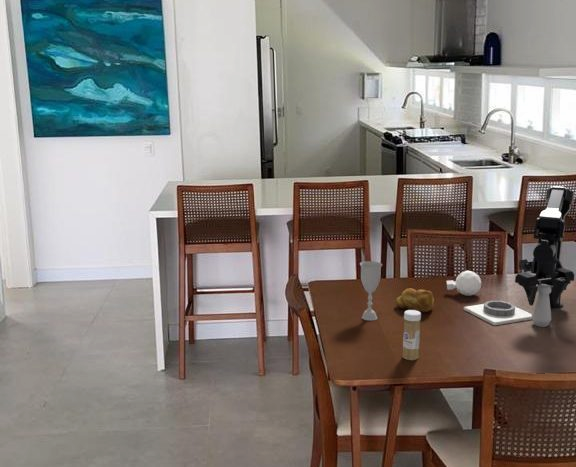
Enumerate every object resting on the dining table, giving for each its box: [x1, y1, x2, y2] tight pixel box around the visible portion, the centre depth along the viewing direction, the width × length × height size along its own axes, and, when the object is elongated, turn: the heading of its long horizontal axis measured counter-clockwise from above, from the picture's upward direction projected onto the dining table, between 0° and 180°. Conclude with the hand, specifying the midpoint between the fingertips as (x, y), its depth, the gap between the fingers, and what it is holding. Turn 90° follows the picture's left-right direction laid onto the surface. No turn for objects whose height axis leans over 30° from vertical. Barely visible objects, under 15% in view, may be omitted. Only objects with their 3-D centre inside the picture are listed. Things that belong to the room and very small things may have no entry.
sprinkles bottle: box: [402, 309, 422, 361], centre depth 200 cm, size 5×5×13 cm
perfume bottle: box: [446, 270, 482, 297], centre depth 256 cm, size 9×9×12 cm
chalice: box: [359, 260, 383, 321], centre depth 231 cm, size 7×7×18 cm
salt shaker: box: [531, 284, 552, 328], centre depth 226 cm, size 6×6×13 cm
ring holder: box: [463, 300, 533, 326], centre depth 236 cm, size 16×16×3 cm
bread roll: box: [395, 287, 435, 313], centre depth 241 cm, size 13×10×8 cm
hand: (542, 303), depth 226 cm, fingers open, 9 cm apart
